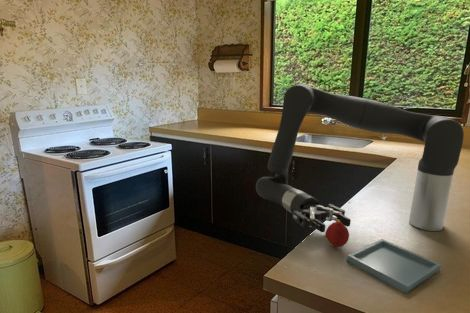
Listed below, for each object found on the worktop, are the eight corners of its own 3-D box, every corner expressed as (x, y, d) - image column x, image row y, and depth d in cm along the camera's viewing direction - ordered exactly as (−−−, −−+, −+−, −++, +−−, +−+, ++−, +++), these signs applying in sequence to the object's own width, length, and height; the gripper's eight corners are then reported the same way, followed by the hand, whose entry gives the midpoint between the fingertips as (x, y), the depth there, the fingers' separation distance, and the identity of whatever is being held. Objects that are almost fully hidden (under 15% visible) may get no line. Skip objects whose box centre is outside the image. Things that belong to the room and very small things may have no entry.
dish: (381, 245, 92) (382, 238, 92) (439, 271, 81) (441, 264, 80) (346, 261, 84) (347, 255, 83) (406, 294, 72) (408, 286, 72)
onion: (343, 242, 93) (346, 215, 91) (350, 253, 88) (354, 224, 86) (322, 242, 93) (324, 214, 91) (328, 253, 88) (331, 224, 86)
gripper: (280, 195, 100) (316, 217, 85) (319, 189, 106) (359, 208, 92) (279, 219, 101) (314, 244, 87) (317, 211, 107) (355, 234, 93)
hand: (337, 225), depth 89 cm, fingers open, 8 cm apart
